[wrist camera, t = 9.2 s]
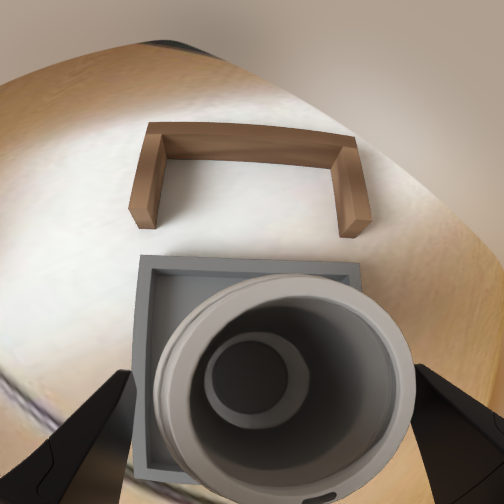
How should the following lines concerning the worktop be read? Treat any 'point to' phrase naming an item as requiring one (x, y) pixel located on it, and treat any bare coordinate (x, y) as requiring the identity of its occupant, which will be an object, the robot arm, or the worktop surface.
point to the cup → (285, 391)
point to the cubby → (251, 150)
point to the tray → (170, 317)
